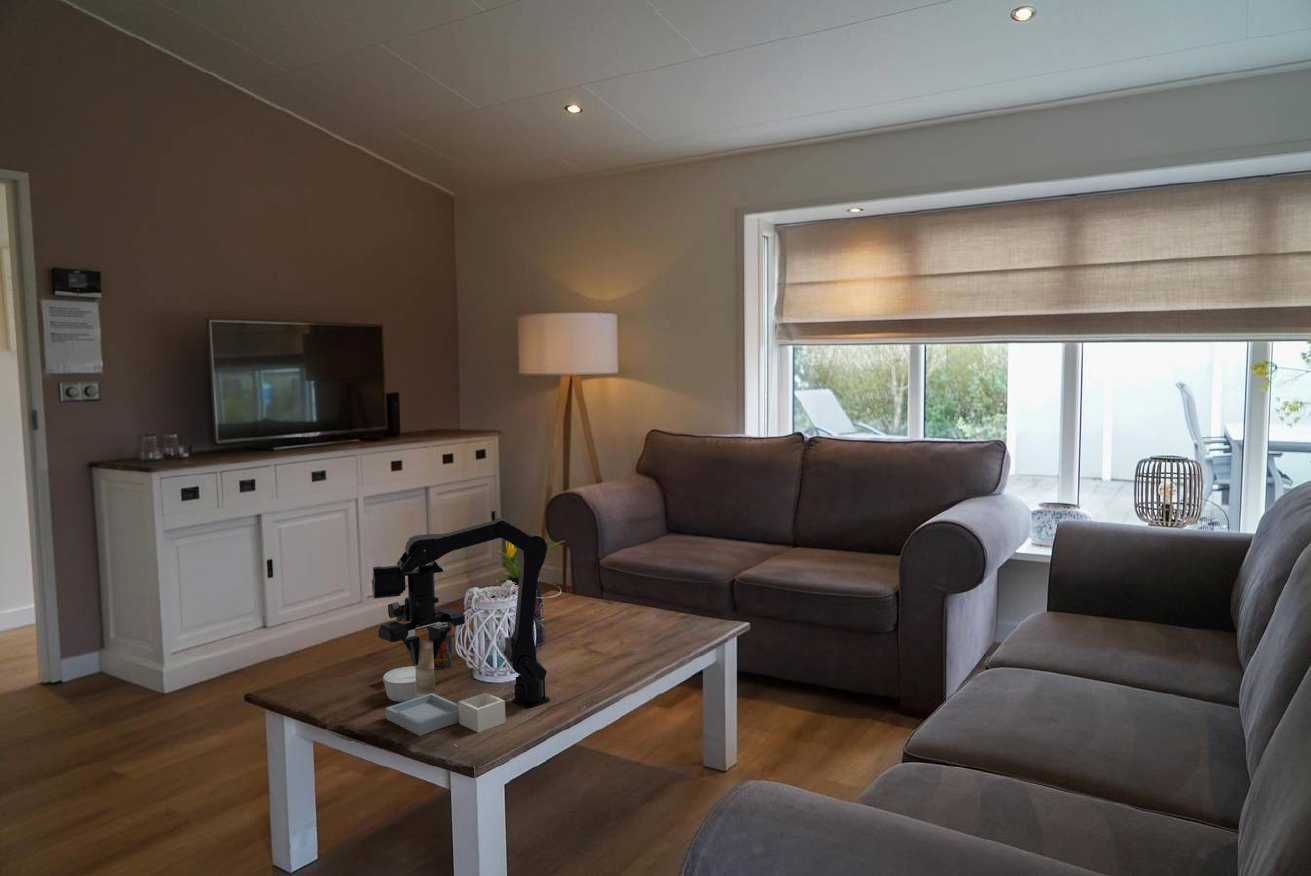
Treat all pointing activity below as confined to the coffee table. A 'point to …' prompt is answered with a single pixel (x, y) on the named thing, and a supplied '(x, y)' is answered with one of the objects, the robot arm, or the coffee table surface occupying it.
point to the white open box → (482, 712)
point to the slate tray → (424, 714)
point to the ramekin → (401, 684)
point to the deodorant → (444, 648)
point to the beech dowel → (425, 668)
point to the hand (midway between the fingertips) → (424, 662)
